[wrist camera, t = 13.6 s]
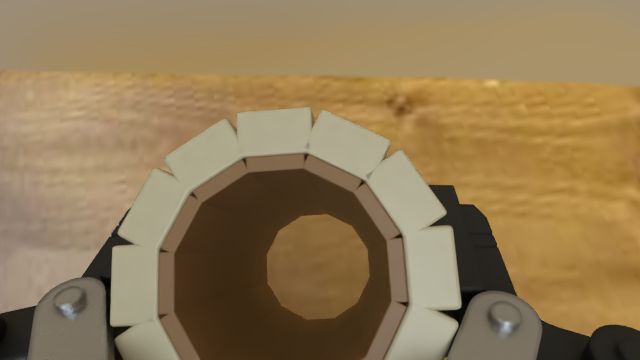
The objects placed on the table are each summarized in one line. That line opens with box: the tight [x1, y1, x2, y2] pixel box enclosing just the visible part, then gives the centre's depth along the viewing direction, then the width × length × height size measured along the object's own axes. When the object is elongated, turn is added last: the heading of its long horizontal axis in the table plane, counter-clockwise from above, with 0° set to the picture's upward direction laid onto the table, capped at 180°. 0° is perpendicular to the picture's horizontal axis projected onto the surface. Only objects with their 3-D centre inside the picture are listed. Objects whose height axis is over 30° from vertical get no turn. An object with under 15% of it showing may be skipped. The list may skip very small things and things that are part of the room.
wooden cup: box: [110, 107, 462, 360], centre depth 12 cm, size 6×6×8 cm
